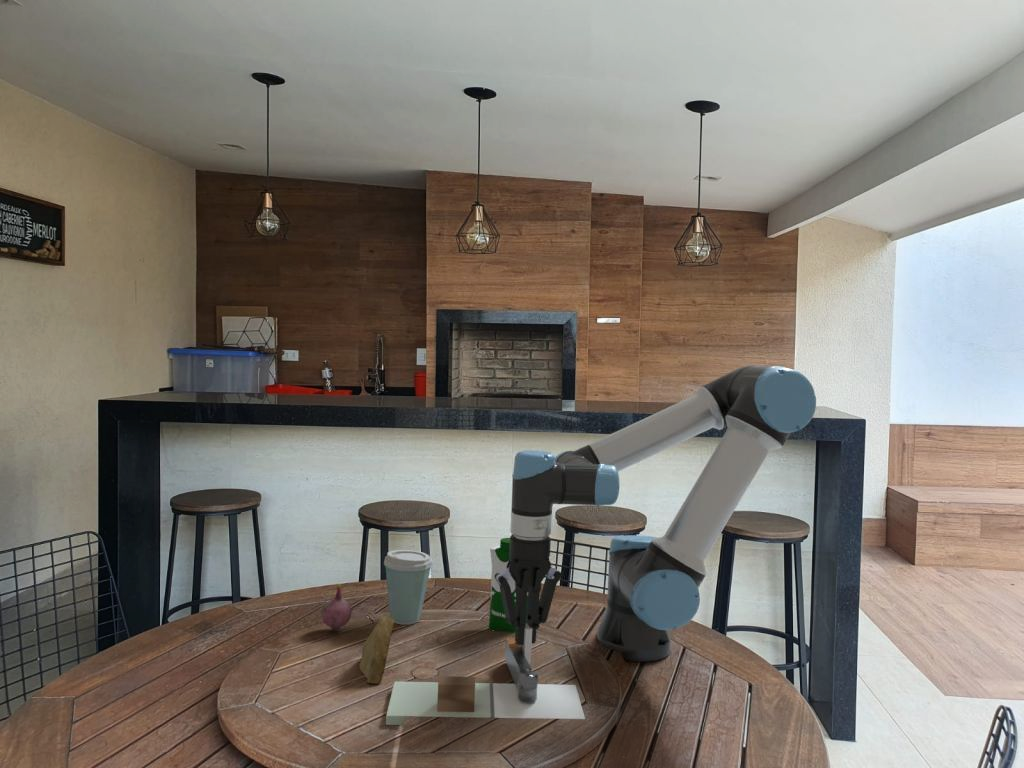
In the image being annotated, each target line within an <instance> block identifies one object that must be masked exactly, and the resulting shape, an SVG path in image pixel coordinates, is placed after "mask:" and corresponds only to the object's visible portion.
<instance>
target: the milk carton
mask: <svg viewBox="0 0 1024 768" xmlns="http://www.w3.org/2000/svg"><path fill="white" fill-rule="evenodd" d="M509 549H510V537H505V538H501V539H500V543H499V544H498V545H496V546H493V547H491V548H490V549H489V551H490V559H491V578H490V579H491V581H490V602H489V619H488V620H489V621H488V622H489V623H488V630H489V629H490V630H494V631H493V632H510V633H511V632H512V633H513V632H515V629H516V627H513V626H511V625H510V624H509V623H508V622H507V621H506V617H505V612H504V607H503V601H502V596H501V591H500V586H499V584H498V582H497V581H496V579H495V574H496V573H500V574H501V573H502V572H503V571H504V570H506V569H507V564H508V562H509V559H510V556H509ZM508 584H509V585H510V588H511V593H512V598H513V603H514V609H515V603H516V587H515V581H514V580H513V578H512V577H511V575H510V583H508ZM527 604H528V593H527ZM526 623H527V624H528V622H527V612H526ZM490 630H489V631H490Z"/></svg>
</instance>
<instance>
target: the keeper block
mask: <svg viewBox="0 0 1024 768" xmlns="http://www.w3.org/2000/svg"><path fill="white" fill-rule="evenodd" d="M475 683H476V677H475V676H454V675H452V676H449V675H446V676H443V675H441V676H440V675H439V676H438V702H437V712H474V702H475Z"/></svg>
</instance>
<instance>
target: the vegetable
mask: <svg viewBox="0 0 1024 768" xmlns="http://www.w3.org/2000/svg"><path fill="white" fill-rule="evenodd" d="M336 587H337V588H336V593H335V594H336V595H335V597H334V598H333V599H330V600H329V601H327V602H326V604H324V605H323V607H322V608H321V612H320V613H321V614H320V615H321V620H322V622H323V623H324V624H325V626H327V627H329V628H331V629H332V630H333V631H338V630H340V628H342V627H344V626H346V625H347V624H348V623H349V621H350V619H351V617H352V613H353V611H352V610H353V609H352V607H351V605H350V604H349V602H347V601H346V600H345V599H343V598H342V586H341V583H340V582H337V584H336Z"/></svg>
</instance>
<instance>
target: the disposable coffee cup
mask: <svg viewBox="0 0 1024 768" xmlns="http://www.w3.org/2000/svg"><path fill="white" fill-rule="evenodd" d="M386 553H387V554H386V556H384V561H383V566H385V575H386V576H385V577H386V578H385V579H386V587H387V597H388V598H387V599H388V609H389V610H388V611H389V616H390V617H391V618H393V619H394V622H393V624H397V625H398V624H399V625H402V626H403V625H414V624H417V622H419V621H420V618H421V616H422V612H423V606H424V601H425V596H426V591H427V588H428V582H429V577H430V573H431V572H430V571H431V568H432V566H433V563H432V557H431V556H430V555H429V554H427V553H425V552H422V551H418V550H412V549H411V550H410V549H409V550H408V549H397V550H395V549H394V550H391V551H388V552H386Z"/></svg>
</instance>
